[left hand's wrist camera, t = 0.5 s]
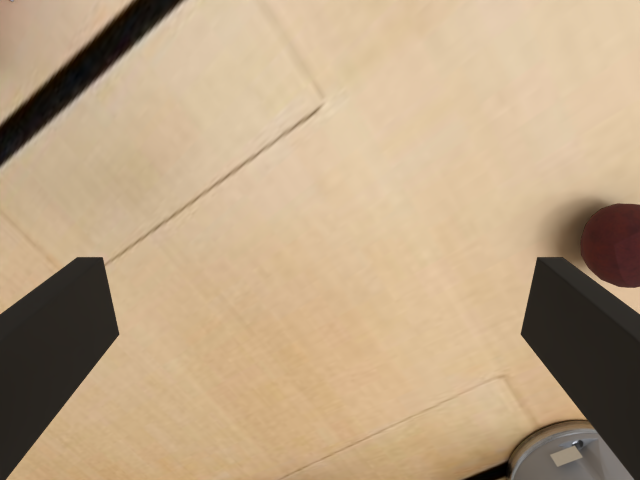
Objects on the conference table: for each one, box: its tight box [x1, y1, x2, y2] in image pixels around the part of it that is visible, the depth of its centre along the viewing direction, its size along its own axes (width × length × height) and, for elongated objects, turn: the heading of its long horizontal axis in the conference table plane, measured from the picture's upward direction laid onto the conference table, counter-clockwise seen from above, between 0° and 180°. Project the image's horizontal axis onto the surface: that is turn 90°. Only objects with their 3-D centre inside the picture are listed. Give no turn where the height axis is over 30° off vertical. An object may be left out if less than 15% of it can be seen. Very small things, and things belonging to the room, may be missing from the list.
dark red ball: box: [581, 204, 640, 288], centre depth 37 cm, size 7×8×7 cm
